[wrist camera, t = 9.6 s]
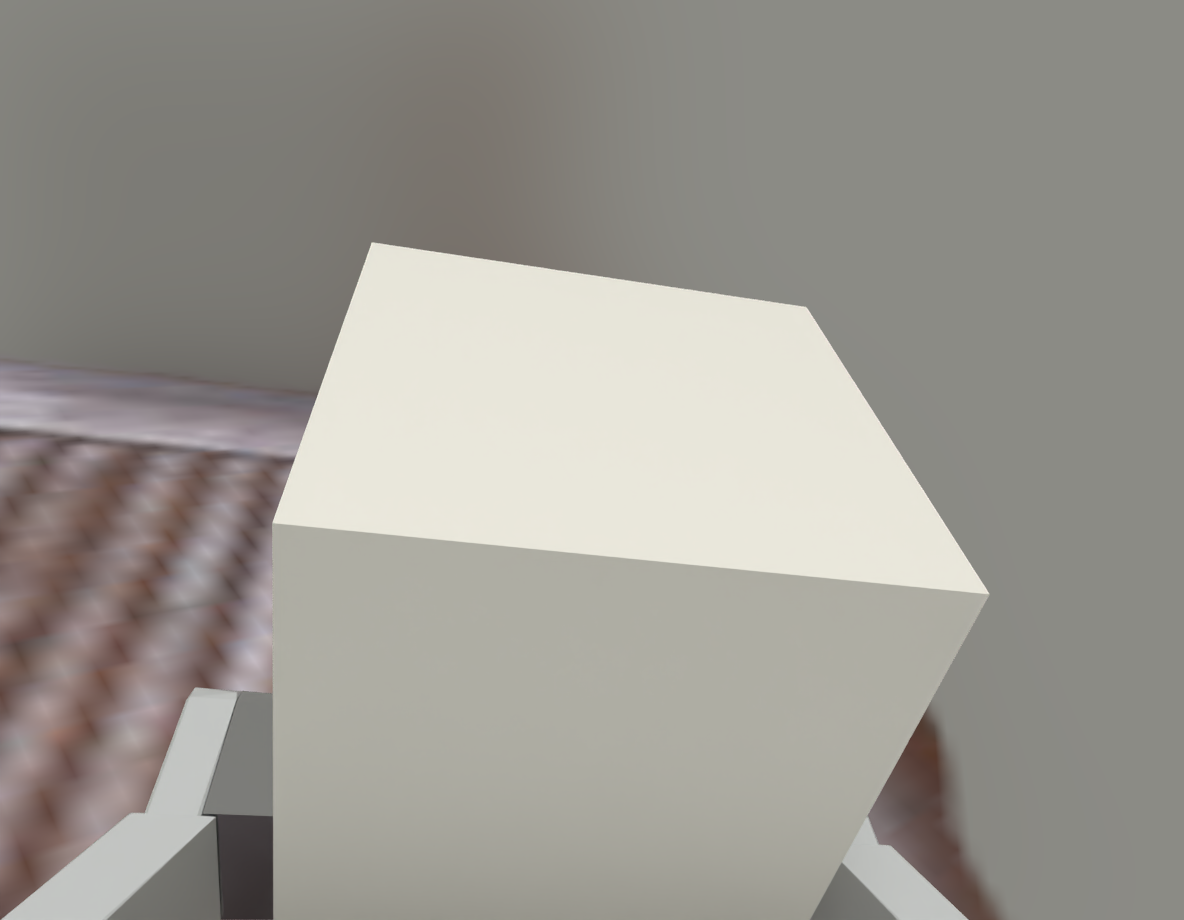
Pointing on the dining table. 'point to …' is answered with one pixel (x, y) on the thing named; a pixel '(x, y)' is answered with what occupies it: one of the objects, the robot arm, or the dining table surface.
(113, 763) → the dining table surface
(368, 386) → the cream block
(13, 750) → the dining table surface
